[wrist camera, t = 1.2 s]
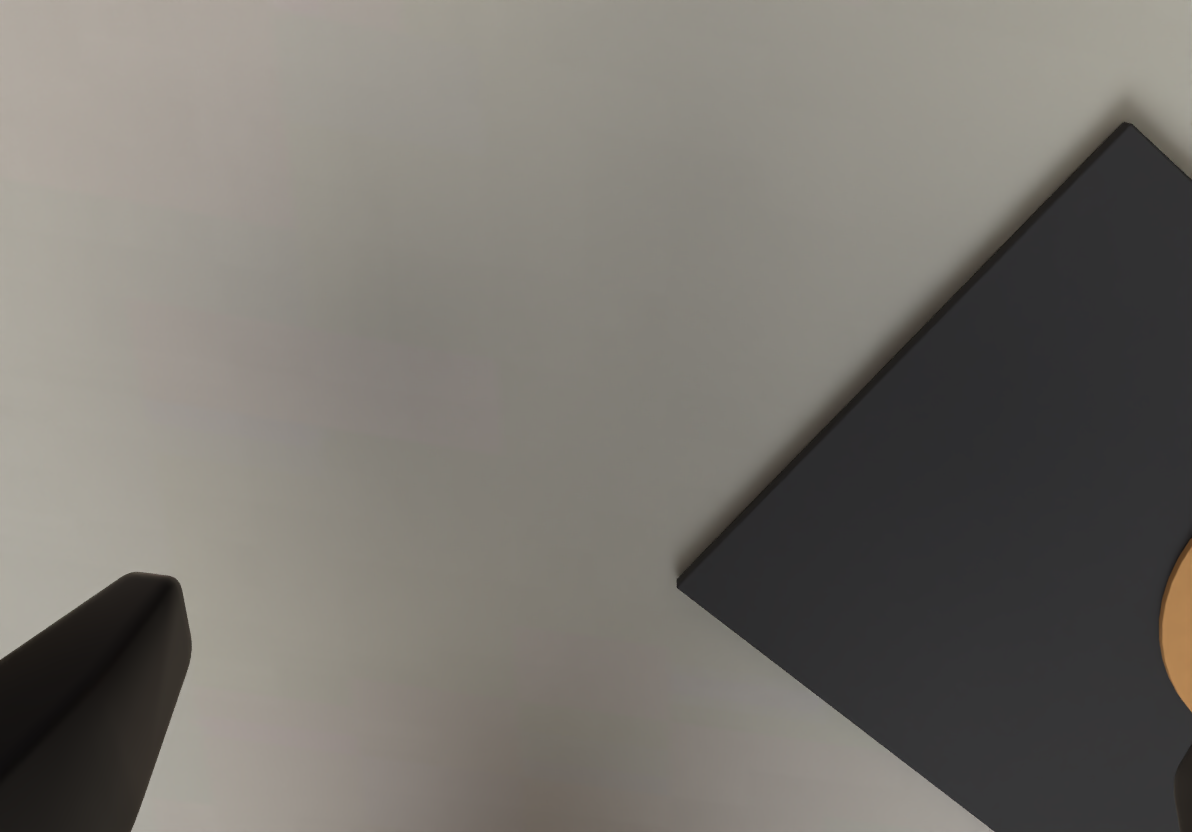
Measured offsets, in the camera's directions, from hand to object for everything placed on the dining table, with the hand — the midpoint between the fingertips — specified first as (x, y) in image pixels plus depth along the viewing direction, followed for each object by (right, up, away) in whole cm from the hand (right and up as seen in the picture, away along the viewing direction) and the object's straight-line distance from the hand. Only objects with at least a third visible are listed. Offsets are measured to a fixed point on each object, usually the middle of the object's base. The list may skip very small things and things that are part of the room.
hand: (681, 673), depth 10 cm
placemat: (+14, -4, +15) cm, 21 cm away
